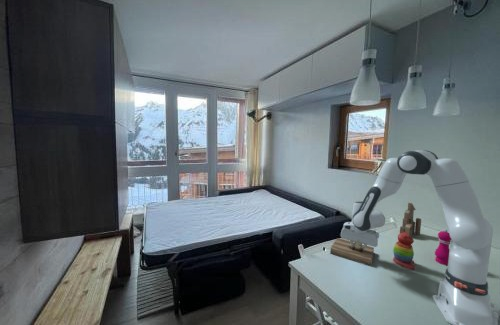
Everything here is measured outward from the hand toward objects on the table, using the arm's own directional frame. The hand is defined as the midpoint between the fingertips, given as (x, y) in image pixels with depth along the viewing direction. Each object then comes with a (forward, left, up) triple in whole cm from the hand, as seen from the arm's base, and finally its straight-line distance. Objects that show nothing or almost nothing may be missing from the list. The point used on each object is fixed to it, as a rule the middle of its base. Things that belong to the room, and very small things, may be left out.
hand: (357, 248), depth 126 cm
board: (0, +3, -4) cm, 5 cm away
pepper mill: (+22, -42, -4) cm, 48 cm away
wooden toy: (+60, -29, -4) cm, 67 cm away
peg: (0, 0, -4) cm, 4 cm away
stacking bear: (+6, -23, -4) cm, 24 cm away
